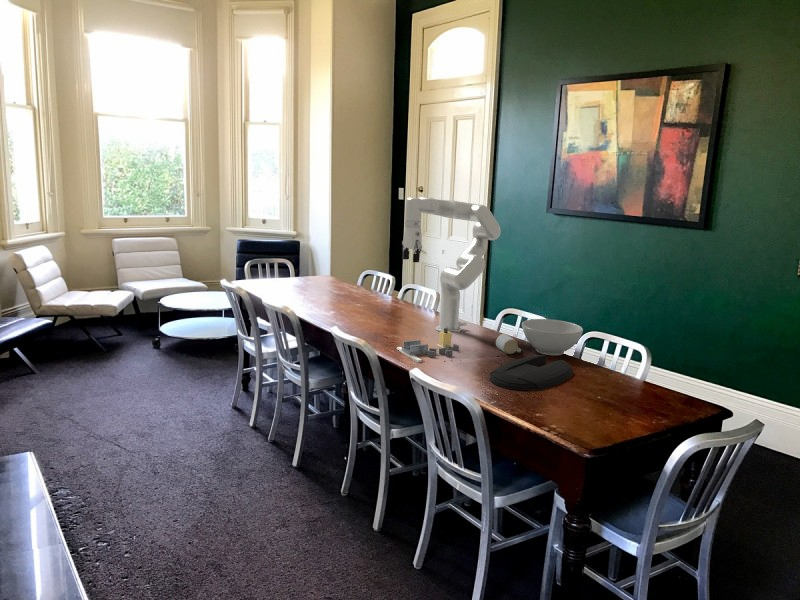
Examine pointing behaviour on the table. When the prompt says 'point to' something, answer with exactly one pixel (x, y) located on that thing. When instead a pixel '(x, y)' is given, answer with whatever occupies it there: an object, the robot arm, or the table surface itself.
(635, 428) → the table surface
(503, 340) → the ceramic mug
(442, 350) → the board
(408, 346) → the end holder
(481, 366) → the table surface
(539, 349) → the decorative bowl
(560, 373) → the folded dark cloth
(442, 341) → the connector
